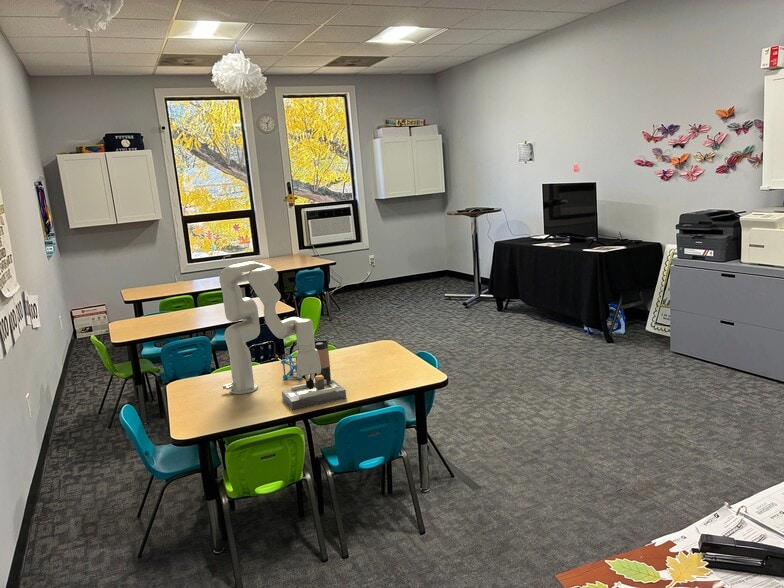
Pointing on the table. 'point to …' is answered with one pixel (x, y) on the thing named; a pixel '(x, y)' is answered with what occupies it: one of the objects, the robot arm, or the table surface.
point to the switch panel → (313, 395)
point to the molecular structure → (290, 367)
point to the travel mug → (323, 359)
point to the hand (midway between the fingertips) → (310, 388)
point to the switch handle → (319, 382)
